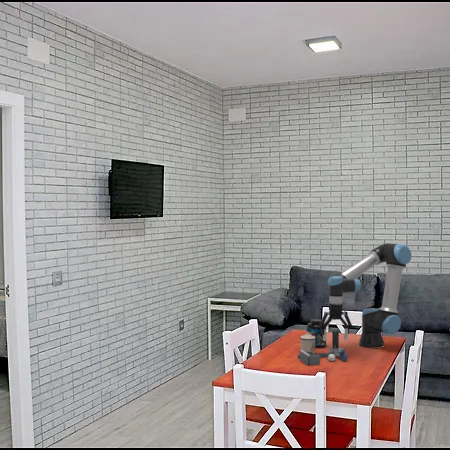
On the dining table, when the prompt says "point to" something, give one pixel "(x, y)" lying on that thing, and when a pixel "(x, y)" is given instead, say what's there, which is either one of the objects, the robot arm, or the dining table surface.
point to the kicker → (337, 346)
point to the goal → (309, 358)
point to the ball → (331, 357)
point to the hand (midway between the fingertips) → (335, 340)
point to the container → (316, 333)
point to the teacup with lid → (307, 342)
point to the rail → (320, 355)
